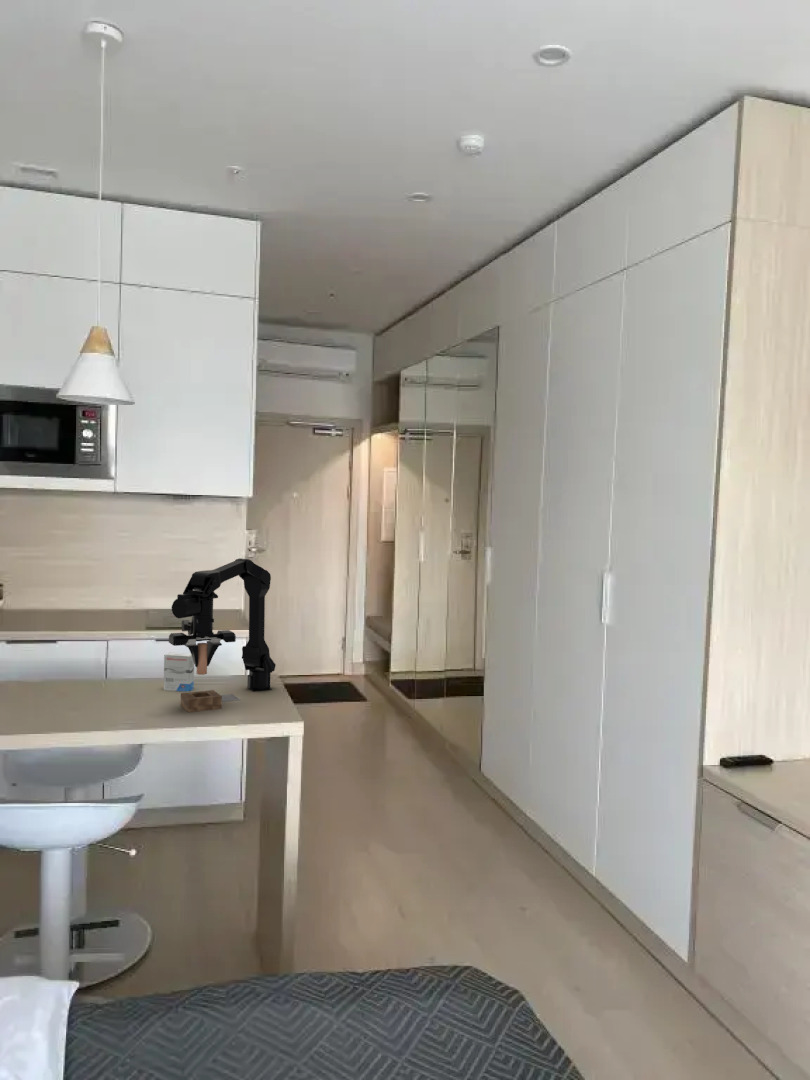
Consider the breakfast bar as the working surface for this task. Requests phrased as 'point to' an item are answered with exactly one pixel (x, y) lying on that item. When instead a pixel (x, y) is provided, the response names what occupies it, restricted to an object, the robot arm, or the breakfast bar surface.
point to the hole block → (201, 701)
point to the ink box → (178, 672)
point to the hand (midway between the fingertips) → (201, 666)
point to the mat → (229, 698)
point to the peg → (202, 658)
